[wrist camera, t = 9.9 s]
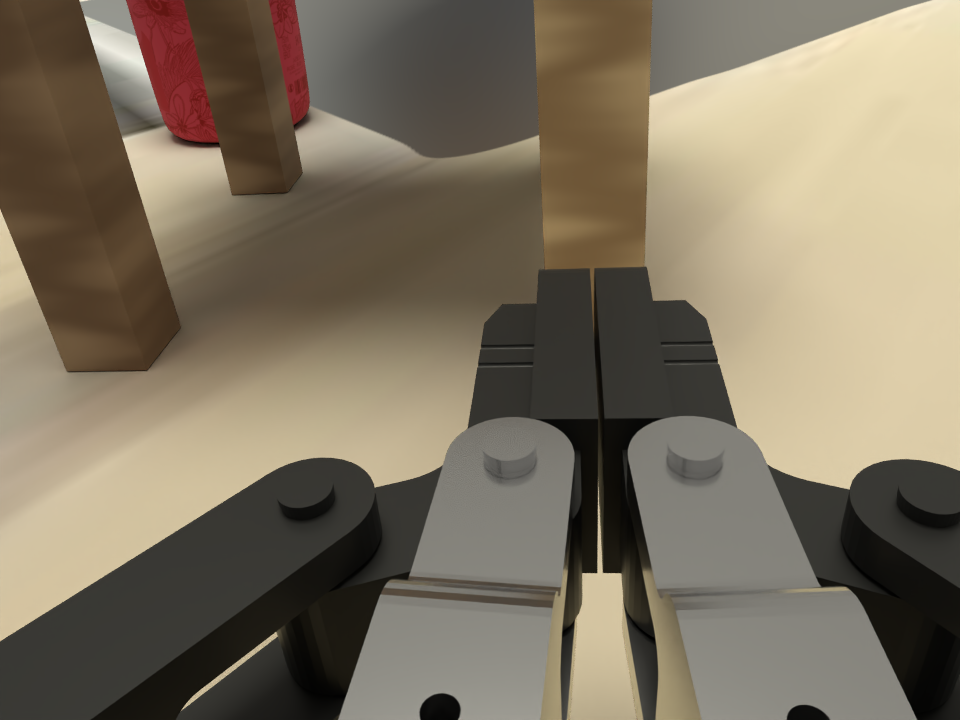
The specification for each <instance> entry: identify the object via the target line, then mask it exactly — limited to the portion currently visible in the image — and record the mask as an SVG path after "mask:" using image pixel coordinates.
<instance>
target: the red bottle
mask: <svg viewBox="0 0 960 720" xmlns="http://www.w3.org/2000/svg"><path fill="white" fill-rule="evenodd" d="M126 1H127V5H128V8H129V12H130V15H131V19H132V22H133V25H134V29H135V32H136V35H137V39H138V42H139V45H140V49H141V52H142V55H143V58H144V62H145V65H146V68H147V71H148V75H149V78H150V81H151V84H152V87H153V90H154V94H155V97H156V100H157V103H158V106H159V109H160V112H161V114H162V117H163V120H164V122H165V124H166V126H167V127H168V129H169V130H170V131H171V132H172V133H173V134H174V135H176V136H178V137H180V138H182V139H185V140H189V141H194V142H202V143H219V140H218V136H217V132H216V128H215V124H214V120H213V116H212V112H211V108H210V104H209V100H208V96H207V92H206V88H205V84H204V80H203V76H202V72H201V68H200V64H199V60H198V56H197V52H196V48H195V44H194V40H193V36H192V32H191V28H190V24H189V20H188V16H187V12H186V8H185V4H184V0H126ZM268 1H269V6H270V11H271V16H272V21H273V26H274V31H275V36H276V41H277V46H278V51H279V56H280V61H281V66H282V71H283V76H284V81H285V86H286V91H287V96H288V101H289V106H290V111H291V116H292V121H293V125H294V124H296V123H298V122H299V121H300V120H301V119H302V118H303V117H304V116H305V115H306V114H307V111H308V109H309V102H310V101H309V91H308V90H309V89H308V82H307V74H306V68H305V61H304V54H303V48H302V42H301V36H300V29H299V23H298V17H297V12H296V5H295V0H268Z"/></svg>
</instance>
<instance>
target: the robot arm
mask: <svg viewBox="0 0 960 720" xmlns="http://www.w3.org/2000/svg"><path fill="white" fill-rule="evenodd" d="M598 486H599V506H600V526H601V545H602V565H603V573H621V574H622V587H623V616H622V630H623V638H624V644H625V650H626V656H627V662H628V668H629V675H630V681H631V687H632V693H633V699H634V705H635V711H636V717H637V720H960V471H958V470H956V469H953V468H950V467H947V466H944V465H940V464H936V463H933V462H927V461H921V460H909V459H900V460H889V461H883V462H879V463H876V464H873V465H871V466H869V467H867V468H865V469H863V470H862V471H861V472H859V473H858V474H857V475H856V477H855V478H854V479H853V481H852V484H851V487H850V490H848V489H844V488H839V487H835V486H830V485H825V484H821V483H816V482H812V481H807V480H804V479H800V478H796V477H793V476H791V475H788V474H785V473H783V472H781V471H779V470H776V469H774V468H772V467H771V466H769V465H767V463H766V461H765V459H764V457H763V454H762V452H761V450H760V449H759V447H758V445H757V444H756V443H755V442H754V441H753V439H752V438H750V437H749V436H748V435H747V434H745V433H744V432H743V431H741V430H739V429H738V428H737V425H736V422H735V418H734V415H733V411H732V408H731V404H730V401H729V397H728V394H727V390H726V387H725V383H724V380H723V376H722V373H721V369H720V366H719V364H718V358H717V355H716V351H715V348H714V346H713V341H712V337H711V334H710V330H709V327H708V323H707V320H706V318H705V317H703V316H702V315H701V314H700V313H699V312H698V311H697V310H696V309H695V308H693V307H692V306H691V305H690V304H689V303H688V302H687V301H686V300H675V301H653V299H652V293H651V288H650V282H649V277H648V271H647V267H611V268H594V332H593V314H592V296H591V278H590V268H579V269H540V270H539V274H538V291H537V304H502V305H501V306H500V307H499V308H498V309H497V311H496V312H495V313H494V314H493V315H492V316H491V317H490V318H489V319H488V320H487V321H486V322H485V324H484V330H483V336H482V343H481V349H480V355H479V361H478V368H477V374H476V380H475V386H474V393H473V399H472V405H471V411H470V417H469V424H468V429H467V430H465V431H464V432H462V433H461V434H460V435H459V436H458V437H457V438H456V439H454V441H453V442H452V444H451V445H450V447H449V449H448V451H447V454H446V457H445V460H444V464H443V466H441V467H440V468H438V469H436V470H434V471H432V472H430V473H428V474H425V475H423V476H420V477H417V478H414V479H410V480H407V481H402V482H398V483H393V484H389V485H385V486H380V487H376V488H374V484H373V481H372V479H371V477H370V476H369V475H368V473H367V472H366V471H365V470H363V469H362V468H361V467H359V466H358V465H356V464H354V463H352V462H348V461H345V460H342V459H335V458H312V459H306V460H301V461H297V462H294V463H290V464H288V465H285V466H283V467H280V468H278V469H276V470H275V471H273V472H271V473H269V474H268V475H266V476H264V477H263V478H261V479H260V480H258V481H256V482H255V483H253V484H252V485H250V486H248V487H247V488H245V489H243V490H242V491H240V492H239V493H237V494H235V495H234V496H232V497H231V498H229V499H227V500H226V501H224V502H223V503H221V504H219V505H218V506H216V507H215V508H213V509H211V510H210V511H208V512H207V513H205V514H203V515H202V516H200V517H199V518H197V519H195V520H194V521H192V522H191V523H189V524H187V525H186V526H184V527H183V528H181V529H179V530H178V531H176V532H175V533H173V534H171V535H170V536H168V537H167V538H165V539H163V540H162V541H160V542H159V543H157V544H155V545H154V546H152V547H151V548H149V549H147V550H146V551H144V552H143V553H141V554H139V555H138V556H136V557H135V558H133V559H131V560H130V561H128V562H127V563H125V564H123V565H122V566H120V567H119V568H117V569H115V570H114V571H112V572H111V573H109V574H107V575H106V576H104V577H103V578H101V579H99V580H98V581H96V582H95V583H93V584H91V585H90V586H88V587H87V588H85V589H83V590H82V591H80V592H79V593H77V594H75V595H74V596H72V597H71V598H69V599H67V600H66V601H64V602H62V603H61V604H59V605H58V606H56V607H54V608H53V609H51V610H50V611H48V612H46V613H45V614H43V615H42V616H40V617H38V618H37V619H35V620H34V621H32V622H30V623H29V624H27V625H26V626H24V627H22V628H21V629H19V630H18V631H16V632H14V633H13V634H11V635H10V636H8V637H6V638H5V639H3V640H2V641H0V720H570V713H571V700H572V687H573V674H574V661H575V648H576V636H577V615H578V614H579V611H580V608H581V605H582V573H597V541H598ZM275 632H277V635H278V637H277V638H275V639H274V640H273V641H272V642H270V643H269V644H268V645H266V646H265V647H264V648H262V649H261V650H260V651H259V652H257V653H256V654H255V655H253V656H252V657H251V658H250V659H248V660H247V661H246V662H244V663H243V664H242V665H240V666H239V667H238V668H237V669H235V670H234V671H233V672H231V673H230V674H229V675H227V676H226V677H225V678H224V679H222V680H221V681H220V682H218V683H217V684H216V685H214V686H213V687H212V688H211V689H209V690H208V691H207V692H205V693H204V694H203V695H201V696H200V697H199V698H198V699H196V700H195V701H194V702H192V703H191V704H190V705H188V706H187V707H186V708H185V709H183V710H182V708H183V707H184V705H185V704H186V703H187V702H188V701H189V699H190V698H191V697H192V696H193V695H194V694H196V693H197V692H198V691H199V690H200V689H202V688H203V687H204V686H206V685H207V684H208V683H210V682H211V681H212V680H213V679H215V678H216V677H217V676H219V675H220V674H221V673H223V672H224V671H225V670H227V669H228V668H229V667H230V666H232V665H233V664H234V663H236V662H237V661H238V660H240V659H241V658H242V657H244V656H245V655H246V654H247V653H249V652H250V651H251V650H253V649H254V648H255V647H257V646H258V645H259V644H261V643H262V642H263V641H264V640H266V639H267V638H268V637H270V636H271V635H272V634H274V633H275ZM181 710H182V711H181ZM180 711H181V712H180Z"/></svg>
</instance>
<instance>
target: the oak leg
mask: <svg viewBox="0 0 960 720" xmlns="http://www.w3.org/2000/svg"><path fill="white" fill-rule="evenodd" d="M534 13H535V14H534V15H535V37H536V38H535V39H536V63H537V64H536V65H537V88H538V89H537V90H538V115H539V140H540V165H541V190H542V215H543V239H544V264H545V269H579V268H590V278H591V296H592V314H593V332H594V268H611V267H644V258H645V225H646V192H647V158H648V125H649V92H650V91H649V90H650V58H651V25H652V0H534Z"/></svg>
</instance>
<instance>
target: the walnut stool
mask: <svg viewBox="0 0 960 720" xmlns="http://www.w3.org/2000/svg"><path fill="white" fill-rule="evenodd" d="M184 4H185V8H186V12H187V16H188V20H189V24H190V28H191V32H192V36H193V40H194V44H195V48H196V52H197V56H198V60H199V64H200V68H201V72H202V76H203V80H204V84H205V88H206V92H207V96H208V100H209V104H210V108H211V112H212V116H213V120H214V124H215V128H216V132H217V136H218V140H219V144H220V148H221V152H222V156H223V160H224V164H225V168H226V172H227V176H228V180H229V184H230V188H231V192H232V195H237V194H261V193H285V192H288V191H289V189H290V188H291V187H292V185H293V184H294V183H295V182H296V180H297V179H298V178H299V177H300V175H301V174H302V173H303V172H302V167H301V162H300V157H299V152H298V147H297V141H296V136H295V131H294V126H293V121H292V116H291V111H290V106H289V101H288V96H287V91H286V86H285V81H284V76H283V71H282V66H281V61H280V56H279V51H278V46H277V41H276V36H275V31H274V26H273V21H272V16H271V11H270V6H269V1H268V0H184ZM0 209H1V212H2V214H3V217H4V219H5V222H6V224H7V226H8V229H9V231H10V234H11V236H12V239H13V241H14V244H15V246H16V248H17V251H18V253H19V256H20V258H21V261H22V263H23V265H24V268H25V270H26V273H27V275H28V278H29V280H30V283H31V285H32V287H33V290H34V292H35V295H36V297H37V300H38V302H39V305H40V307H41V309H42V312H43V314H44V317H45V319H46V322H47V324H48V326H49V329H50V331H51V334H52V336H53V339H54V341H55V344H56V346H57V348H58V351H59V353H60V356H61V358H62V361H63V363H64V366H65V368H66V370H67V371H117V370H147V369H148V368H149V367H150V366H151V364H152V363H153V362H154V360H155V359H156V358H157V357H158V355H159V354H160V353H161V352H162V350H163V349H164V348H165V347H166V345H167V344H168V343H169V341H170V340H171V339H172V338H173V336H174V335H175V334H176V333H177V331H178V330H179V329H180V327H181V326H180V322H179V319H178V316H177V313H176V309H175V306H174V303H173V300H172V297H171V293H170V290H169V287H168V284H167V281H166V277H165V274H164V271H163V268H162V265H161V261H160V258H159V255H158V252H157V249H156V245H155V242H154V239H153V236H152V233H151V229H150V226H149V223H148V220H147V216H146V213H145V210H144V207H143V204H142V200H141V197H140V194H139V191H138V188H137V184H136V181H135V178H134V175H133V172H132V168H131V165H130V162H129V159H128V156H127V152H126V149H125V146H124V143H123V139H122V136H121V133H120V130H119V127H118V123H117V120H116V117H115V114H114V111H113V107H112V104H111V101H110V98H109V95H108V91H107V88H106V85H105V82H104V79H103V75H102V72H101V69H100V66H99V62H98V59H97V56H96V53H95V50H94V46H93V43H92V40H91V37H90V34H89V30H88V27H87V24H86V21H85V18H84V14H83V11H82V8H81V5H80V2H79V0H0Z"/></svg>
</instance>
